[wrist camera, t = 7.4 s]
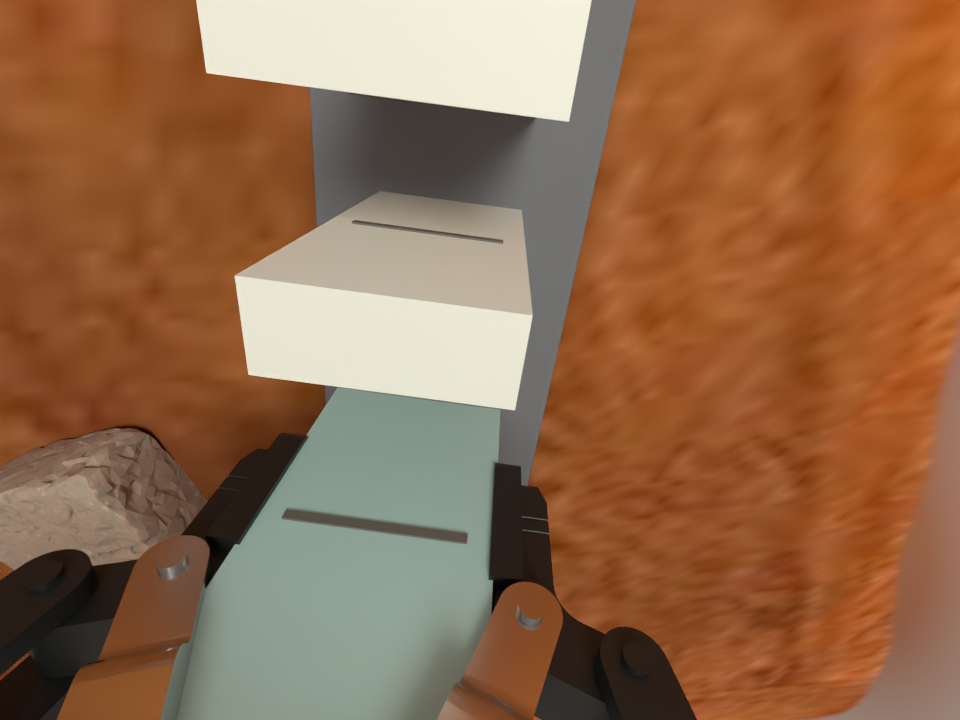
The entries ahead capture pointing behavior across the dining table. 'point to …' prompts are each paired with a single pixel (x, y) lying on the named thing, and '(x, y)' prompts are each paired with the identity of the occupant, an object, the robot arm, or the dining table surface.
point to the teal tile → (356, 571)
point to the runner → (488, 187)
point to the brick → (94, 498)
